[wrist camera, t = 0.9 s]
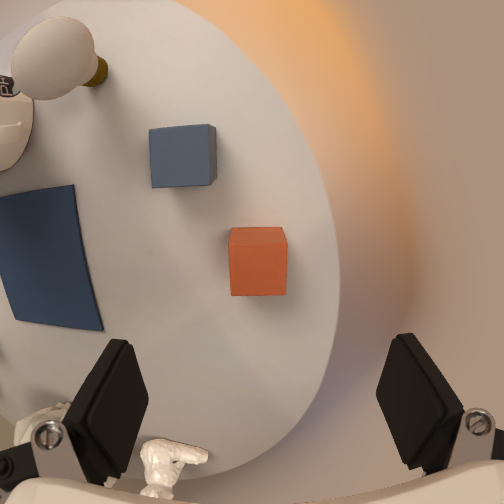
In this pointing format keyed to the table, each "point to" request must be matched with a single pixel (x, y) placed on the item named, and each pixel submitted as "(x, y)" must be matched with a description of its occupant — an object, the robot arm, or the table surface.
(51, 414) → the vase
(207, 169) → the slate block
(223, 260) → the table surface
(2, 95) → the mug
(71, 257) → the navy blue mat
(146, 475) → the sitting furry creature
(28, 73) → the light bulb
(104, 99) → the table surface
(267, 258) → the terracotta block
